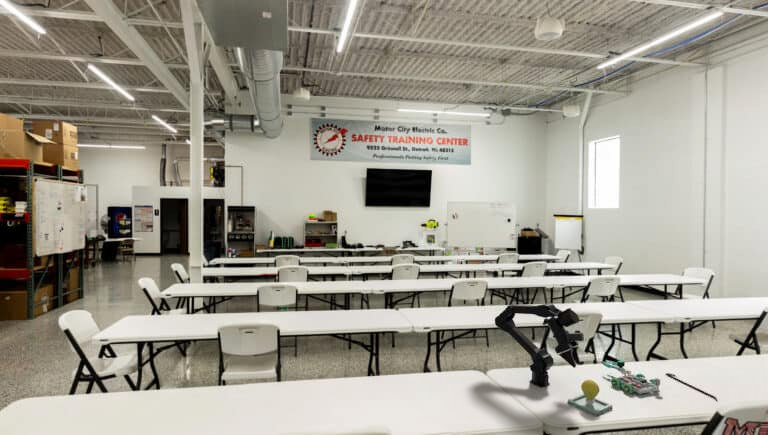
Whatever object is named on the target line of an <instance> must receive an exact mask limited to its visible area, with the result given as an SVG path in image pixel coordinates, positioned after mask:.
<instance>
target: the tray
mask: <svg viewBox="0 0 768 435" xmlns="http://www.w3.org/2000/svg"><path fill="white" fill-rule="evenodd" d="M585 398H586V396H585V395H584V393H583V392H582V393H581V394H578V395H576V396H574V397H571V398H568V399H567V404H568V405H570V406H573V407H575V408H576V409H579V410H581V411H583V412H586V413H587V414H590V415H592V416H593V417H594V416H595V417H597V416H599V415H602V414H603V413H606V412H608V411H610V410H613V404H610V403H608V402H607V401H604V400H601V399H599V398H598V397H597V398H596V397H595V398H594V399H593V400H594V403H593V406H589V405H587V404H586V401H585Z"/></svg>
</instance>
